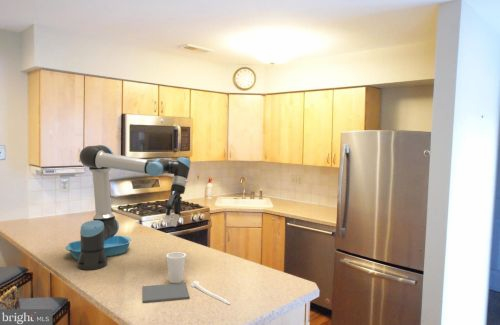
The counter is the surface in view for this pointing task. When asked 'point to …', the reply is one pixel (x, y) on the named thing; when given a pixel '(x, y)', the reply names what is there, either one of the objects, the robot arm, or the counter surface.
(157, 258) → the counter surface
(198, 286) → the white long knobbed rod
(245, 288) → the counter surface
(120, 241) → the casserole dish
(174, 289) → the mat
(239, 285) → the counter surface
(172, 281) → the foam cup
